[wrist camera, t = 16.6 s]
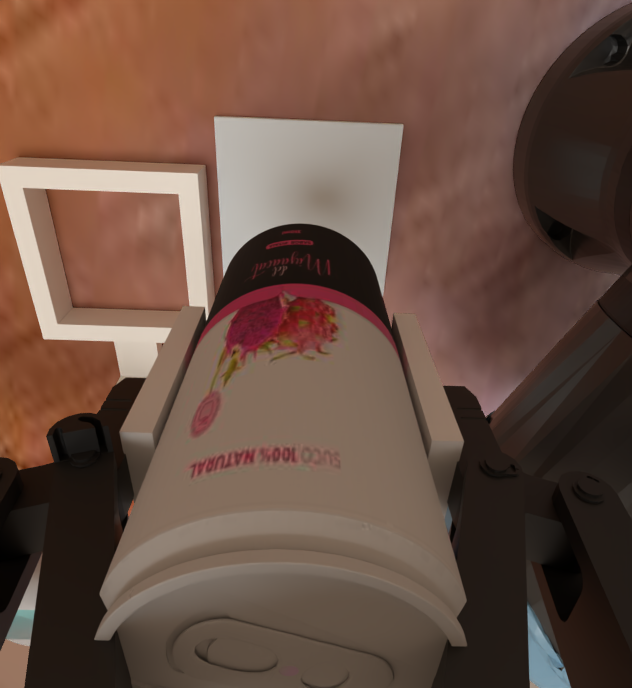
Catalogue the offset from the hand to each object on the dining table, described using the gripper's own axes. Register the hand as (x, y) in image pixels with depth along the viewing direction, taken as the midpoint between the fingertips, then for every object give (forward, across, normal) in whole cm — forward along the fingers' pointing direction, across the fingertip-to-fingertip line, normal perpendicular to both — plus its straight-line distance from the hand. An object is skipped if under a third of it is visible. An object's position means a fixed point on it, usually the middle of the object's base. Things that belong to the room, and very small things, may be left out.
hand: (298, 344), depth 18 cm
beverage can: (+4, 0, 0) cm, 4 cm away
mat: (+17, 0, 0) cm, 17 cm away
